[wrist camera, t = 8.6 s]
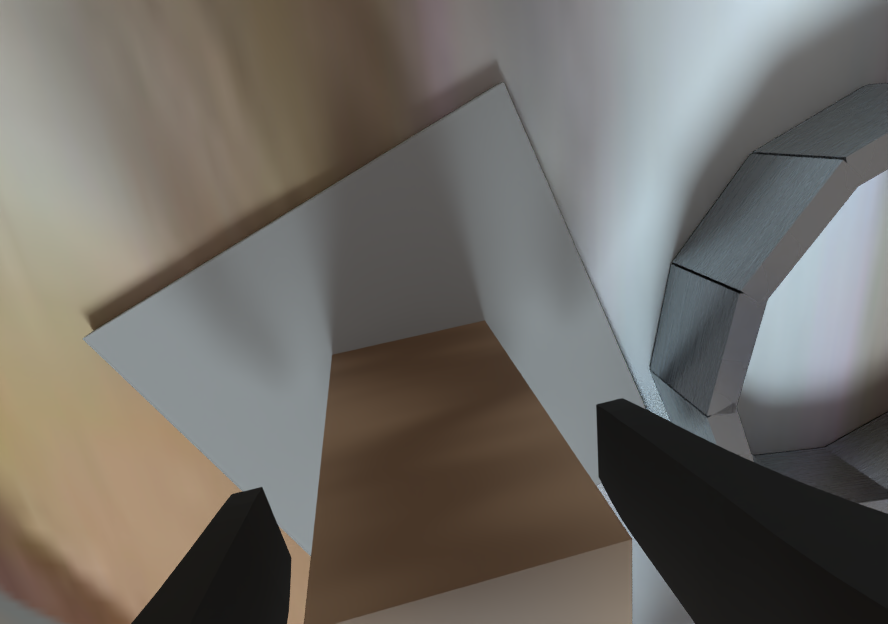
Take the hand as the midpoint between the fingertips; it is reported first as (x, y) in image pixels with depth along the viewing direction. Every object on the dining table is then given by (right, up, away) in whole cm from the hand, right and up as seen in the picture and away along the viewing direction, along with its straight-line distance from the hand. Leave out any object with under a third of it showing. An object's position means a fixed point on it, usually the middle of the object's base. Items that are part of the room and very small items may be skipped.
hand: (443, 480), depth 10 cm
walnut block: (-1, +1, +3) cm, 3 cm away
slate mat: (-1, +1, +3) cm, 3 cm away
